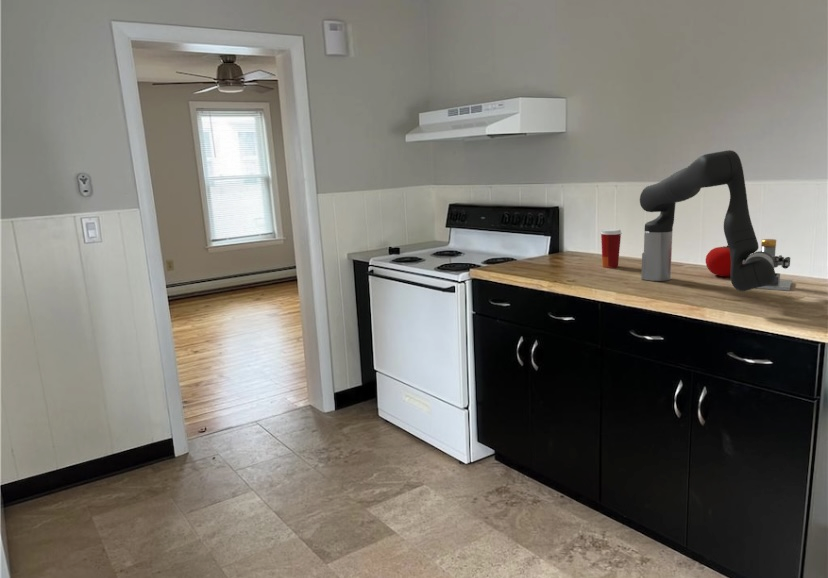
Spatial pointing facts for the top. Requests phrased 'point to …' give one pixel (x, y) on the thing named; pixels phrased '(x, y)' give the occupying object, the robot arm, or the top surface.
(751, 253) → the robot arm
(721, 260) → the tomato
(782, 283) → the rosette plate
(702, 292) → the top surface
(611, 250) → the coffee cup
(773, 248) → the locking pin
